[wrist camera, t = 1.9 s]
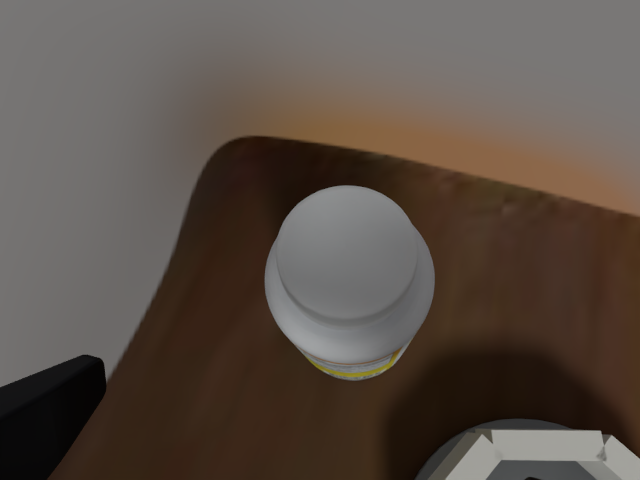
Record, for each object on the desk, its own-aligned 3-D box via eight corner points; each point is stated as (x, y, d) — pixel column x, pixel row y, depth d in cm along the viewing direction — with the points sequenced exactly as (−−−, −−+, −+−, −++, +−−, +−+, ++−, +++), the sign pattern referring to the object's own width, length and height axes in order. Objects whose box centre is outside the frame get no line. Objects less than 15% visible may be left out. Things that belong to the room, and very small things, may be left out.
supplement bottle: (358, 247, 23) (357, 126, 13) (434, 330, 21) (496, 256, 11) (272, 315, 22) (208, 236, 12) (344, 408, 20) (332, 399, 10)
